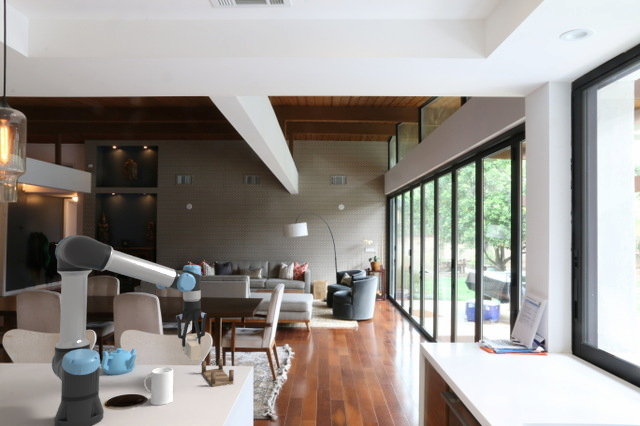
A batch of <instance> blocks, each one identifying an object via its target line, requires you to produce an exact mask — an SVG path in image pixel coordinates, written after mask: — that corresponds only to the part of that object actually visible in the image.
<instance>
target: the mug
mask: <svg viewBox="0 0 640 426" xmlns="http://www.w3.org/2000/svg"><path fill="white" fill-rule="evenodd" d="M149 377H151V378H150V380H151V385H150V386H151V387H150V389H151V390H150V389H149V388H148V387H147V384H146V383H147V379H148V378H149ZM143 385H144V388H145V390H146V392H148V393H149V394H150V402H149V403H150V404H151V405H153V406H163V405H164V406H165V405H168V404H171V403H172V402H173V401H174V395H173V393H174V390H173V389H174V369H173V368H172V367H158V368H154V369H152V370H151V372H150V373H148V374H147V375H146V376H145V378H144V380H143Z"/></svg>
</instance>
